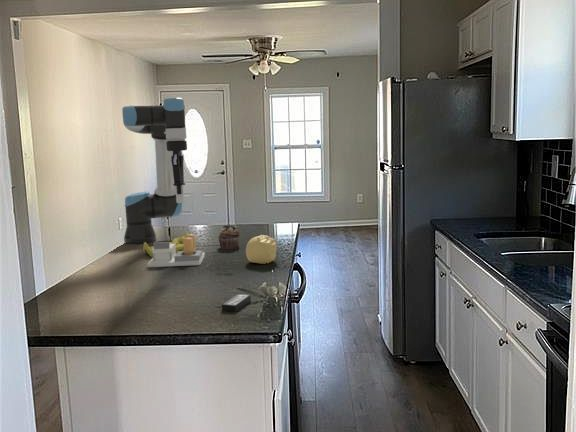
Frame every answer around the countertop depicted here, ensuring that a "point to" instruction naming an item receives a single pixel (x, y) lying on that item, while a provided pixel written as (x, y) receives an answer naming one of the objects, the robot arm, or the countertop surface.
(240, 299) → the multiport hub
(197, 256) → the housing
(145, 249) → the plastic component
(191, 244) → the peg
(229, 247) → the cupcake
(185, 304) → the countertop surface
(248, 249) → the sculpture
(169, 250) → the lid
